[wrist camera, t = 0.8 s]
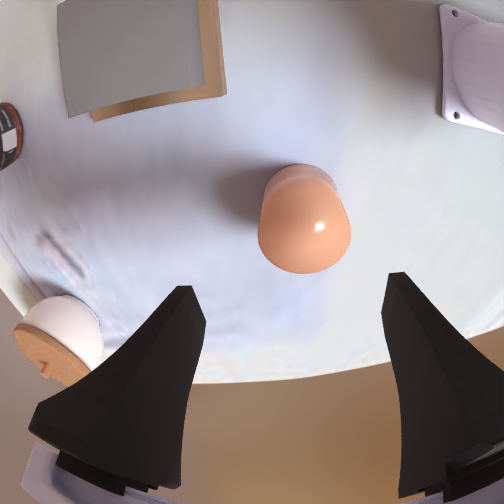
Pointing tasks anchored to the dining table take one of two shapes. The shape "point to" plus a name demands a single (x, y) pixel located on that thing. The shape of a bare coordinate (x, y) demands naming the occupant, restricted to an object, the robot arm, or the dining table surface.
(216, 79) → the walnut slab
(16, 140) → the supplement bottle
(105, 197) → the dining table surface
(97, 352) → the lidded jar
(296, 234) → the terracotta cylinder
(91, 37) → the grey flat block
